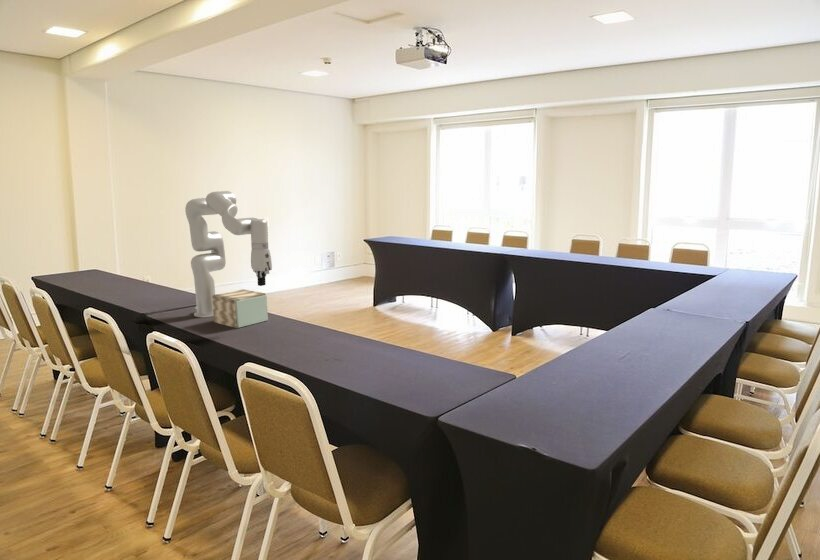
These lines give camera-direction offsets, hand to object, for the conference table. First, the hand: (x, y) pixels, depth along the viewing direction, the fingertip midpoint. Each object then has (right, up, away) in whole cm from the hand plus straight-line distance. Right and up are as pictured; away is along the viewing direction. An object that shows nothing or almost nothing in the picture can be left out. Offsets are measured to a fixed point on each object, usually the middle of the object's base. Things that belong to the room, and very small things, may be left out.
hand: (261, 285), depth 268 cm
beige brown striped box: (-14, -18, +15) cm, 27 cm away
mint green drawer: (-13, -18, +14) cm, 26 cm away
